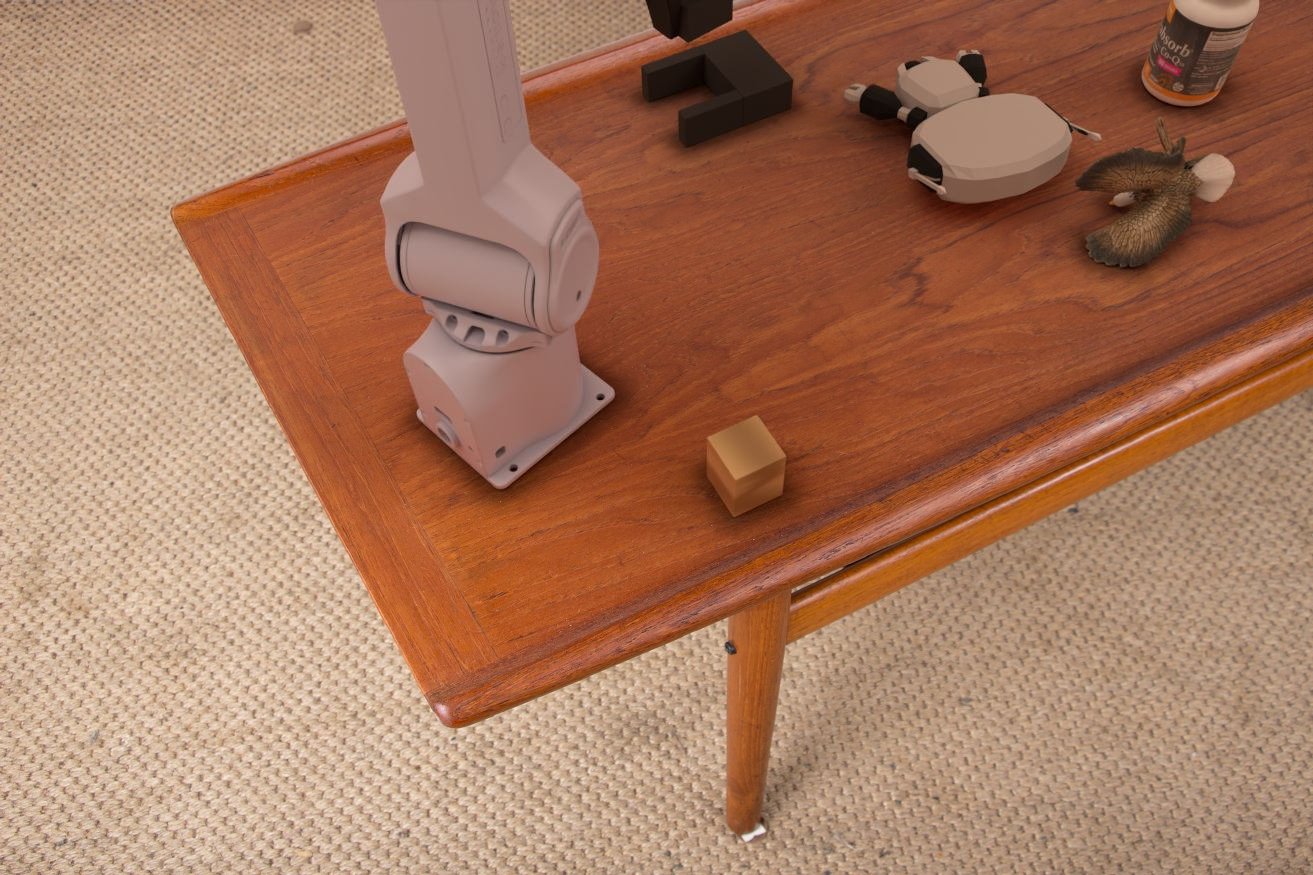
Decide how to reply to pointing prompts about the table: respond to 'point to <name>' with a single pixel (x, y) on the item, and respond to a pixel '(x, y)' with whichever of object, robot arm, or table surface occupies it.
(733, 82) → the base pad
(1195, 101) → the pill bottle
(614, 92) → the table surface
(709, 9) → the small pad
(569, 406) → the robot arm
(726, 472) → the cube
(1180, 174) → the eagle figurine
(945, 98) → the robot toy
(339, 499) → the table surface
